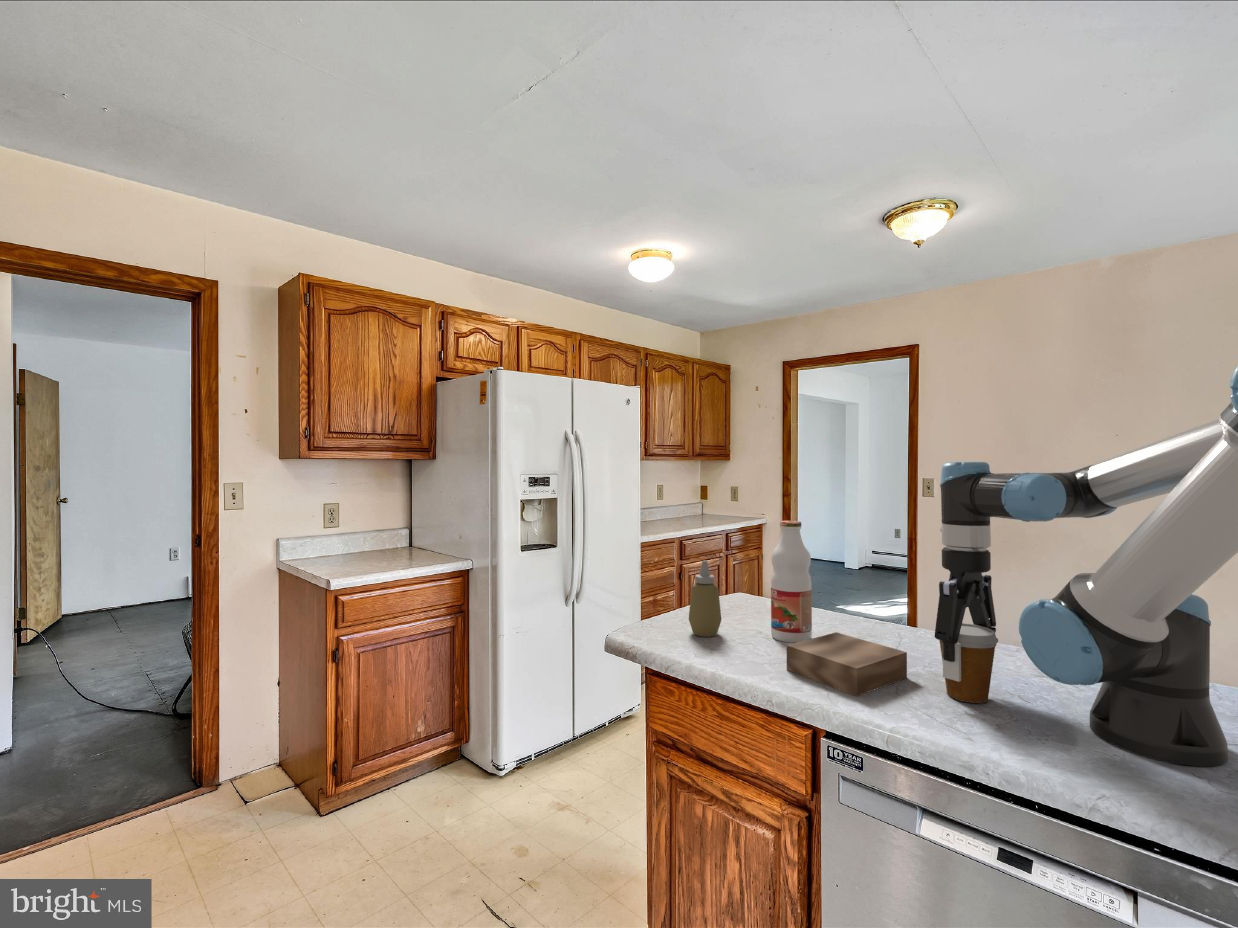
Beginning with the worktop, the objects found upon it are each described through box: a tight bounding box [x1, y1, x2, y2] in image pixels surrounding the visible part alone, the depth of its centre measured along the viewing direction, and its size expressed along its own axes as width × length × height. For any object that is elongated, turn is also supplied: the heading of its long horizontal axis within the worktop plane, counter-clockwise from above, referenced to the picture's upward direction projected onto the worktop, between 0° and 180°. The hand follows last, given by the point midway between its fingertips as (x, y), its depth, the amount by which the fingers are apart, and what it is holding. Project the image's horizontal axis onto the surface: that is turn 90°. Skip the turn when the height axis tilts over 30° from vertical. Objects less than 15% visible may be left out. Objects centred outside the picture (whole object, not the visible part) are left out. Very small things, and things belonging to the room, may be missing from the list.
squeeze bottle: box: [688, 560, 722, 638], centre depth 142 cm, size 8×8×18 cm
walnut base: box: [786, 632, 908, 697], centre depth 115 cm, size 16×16×5 cm
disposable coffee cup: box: [938, 622, 999, 704], centre depth 103 cm, size 10×10×12 cm
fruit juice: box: [770, 520, 813, 644], centre depth 139 cm, size 9×9×28 cm
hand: (966, 672), depth 103 cm, fingers closed on disposable coffee cup, 9 cm apart
